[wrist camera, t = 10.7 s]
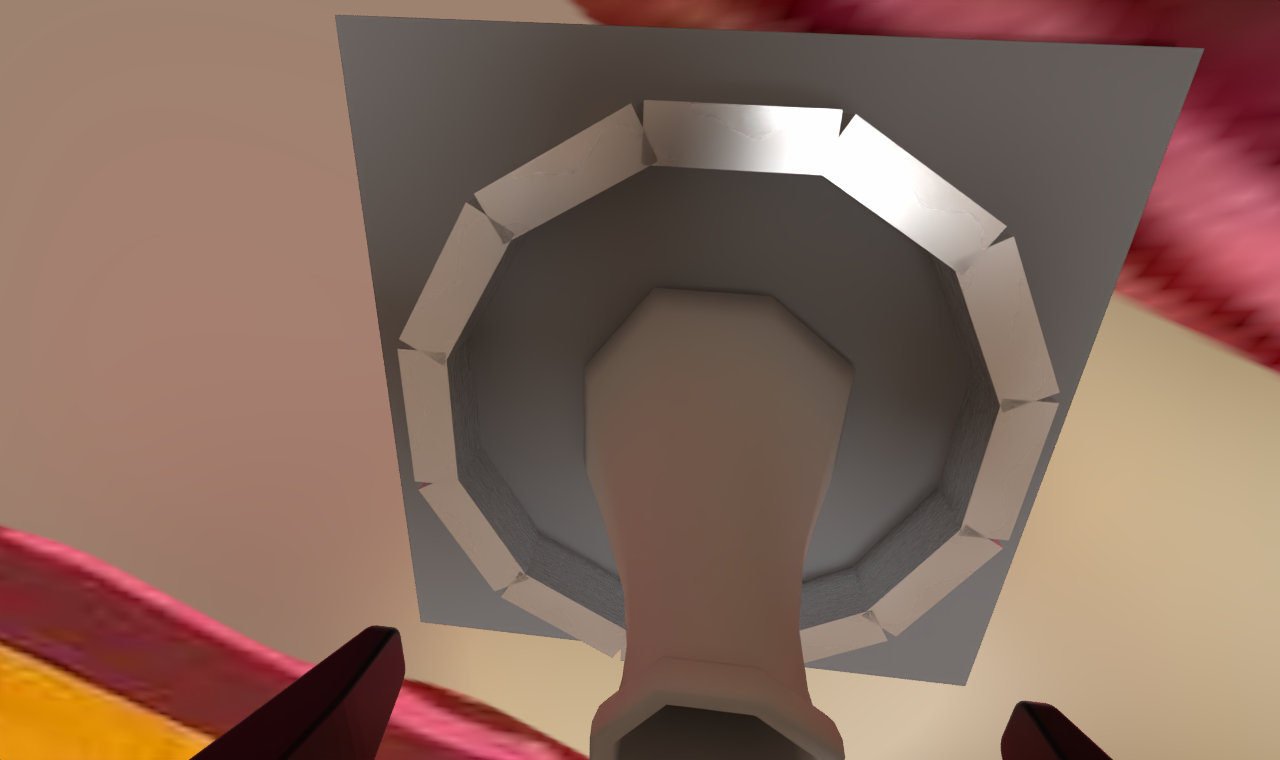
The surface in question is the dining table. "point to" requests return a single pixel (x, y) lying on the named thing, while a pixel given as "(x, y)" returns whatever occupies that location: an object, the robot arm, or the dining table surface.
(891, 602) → the stone ring
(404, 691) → the dining table surface
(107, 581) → the dining table surface
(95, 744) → the dining table surface
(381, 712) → the robot arm
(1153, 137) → the rubber mat
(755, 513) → the flask
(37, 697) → the dining table surface
